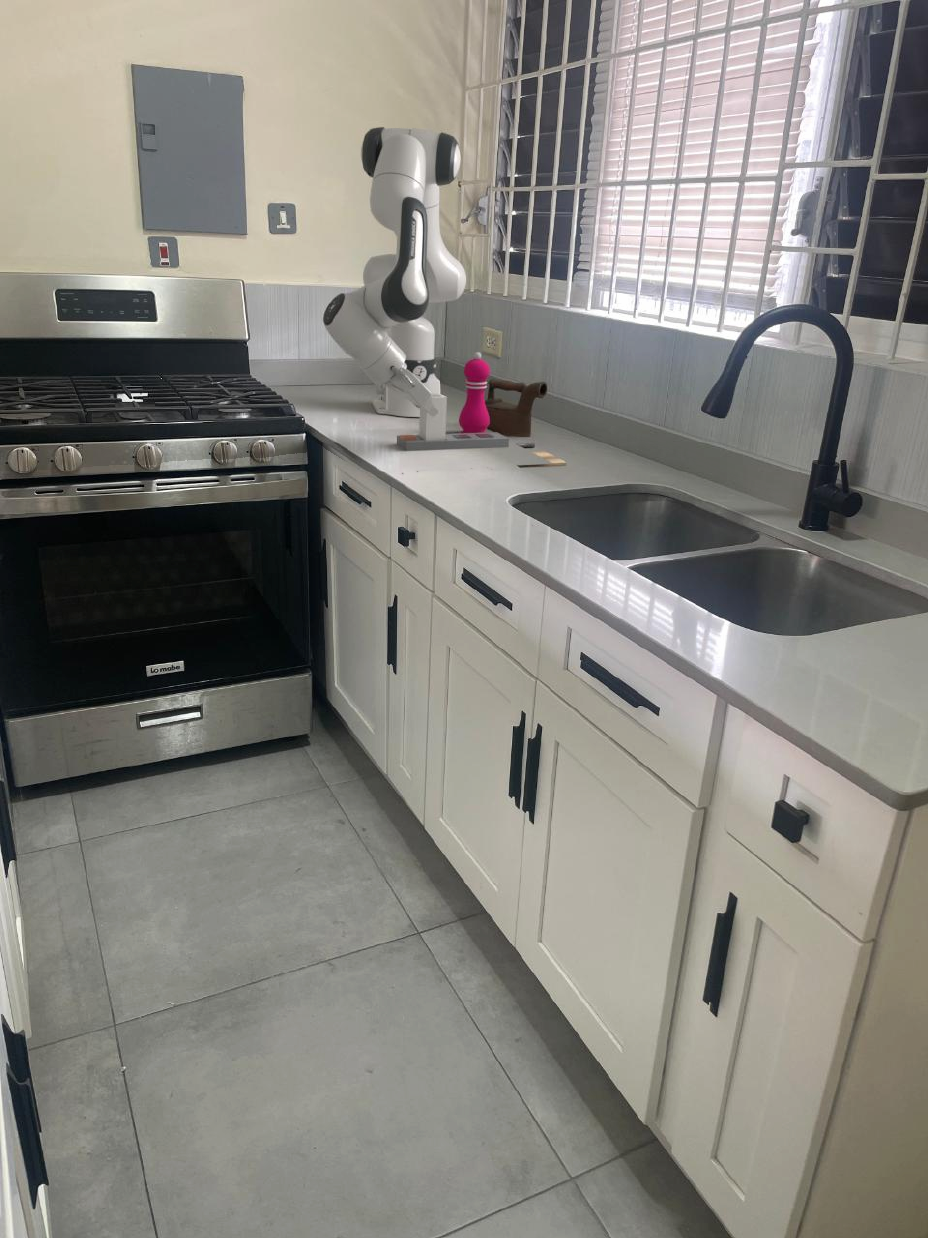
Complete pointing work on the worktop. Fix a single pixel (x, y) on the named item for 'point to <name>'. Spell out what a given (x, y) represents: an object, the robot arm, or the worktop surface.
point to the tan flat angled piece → (548, 457)
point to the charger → (434, 420)
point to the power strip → (457, 442)
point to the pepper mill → (475, 397)
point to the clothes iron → (513, 407)
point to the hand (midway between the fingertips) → (427, 409)
